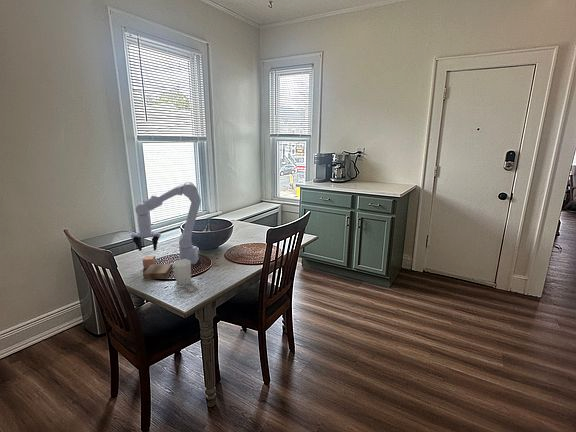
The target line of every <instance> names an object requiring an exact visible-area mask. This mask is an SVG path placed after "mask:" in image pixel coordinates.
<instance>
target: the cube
mask: <svg viewBox="0 0 576 432" xmlns="http://www.w3.org/2000/svg"><path fill="white" fill-rule="evenodd" d="M150 265H157V259H156V255H146V256H144V257H143V258H142V267H143V269H147V268H148V267H149V266H150Z"/></svg>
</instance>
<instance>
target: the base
mask: <svg viewBox="0 0 576 432" xmlns="http://www.w3.org/2000/svg"><path fill="white" fill-rule="evenodd" d="M172 269H173V270H174V267H173V263H165V264H161V263H160V264H156V265H150V266H149V267H148V268H146V269H145V271H144V272H142V277H143V280H159V279H160V280H163V279H164V280H165V279H168V277H169V275H170V274H171V273H170V272H172V271H173V270H172Z"/></svg>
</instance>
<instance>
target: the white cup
mask: <svg viewBox="0 0 576 432" xmlns="http://www.w3.org/2000/svg"><path fill="white" fill-rule="evenodd" d="M172 267H173V271H174V277H175V282H176V284H177V285H179V286H183V285H188V284H190V283H191V282H192V264H191V261H190V260H186V259H184V260H180V259H178V260H176V261H174V262H172Z"/></svg>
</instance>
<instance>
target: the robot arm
mask: <svg viewBox="0 0 576 432" xmlns="http://www.w3.org/2000/svg"><path fill="white" fill-rule="evenodd" d="M183 195H184V197H186V198H188V199H189V201H190V202H191V203H190V206H189V209H188V212H187V213H188V214H187V217H186V221H185V225H184V228H183V230H182V233H181V234H180V235H179V242H178V245H179V246H178V250H179V260H184V259H186V260H190V261H191V265H196V264H197V263H198V261H199V259H200V258H199V251H198V250H199V249H198V246H196V245H193V243H192V235H193V231H194V227H195V224H196V219H197V217H198V216H197V215H198V213H199V209H200V206H201V202H202V201H201V196H200V194H199V192H198V189H197V187H196V186H195V184H194V183H192V182H191V181H186V182H185V183H183V184H178V185H177V186H175V187H173V188H172V189H170V190H168V191H166V192H165V193H162V194H161V195H157V194H155V195H154V194H153V195H152V196H151V197H150V198H148V199H146V200H145V199H144V200H143V201H142V202H139V203H138V204H137V205H136V207H135V212H136V215H137V224H138V232H136V233H131V234H130V237H131V239H132V241H133V242H134V244H135V245H136V247H137V250H138V251H139V252H141V251H142V250H143V248H142V247H143V246H142V238H151V242H152V246H153V251H157V247H158V242H159V240H160V238H161V232H155V231H154V232H152V227H151V219H150V213H149V211H153V210H155V209H157V208H158V207H161V206H162V205H163V202H165V201H166V200H169V199H171V198H173V197H175V196H183Z"/></svg>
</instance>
